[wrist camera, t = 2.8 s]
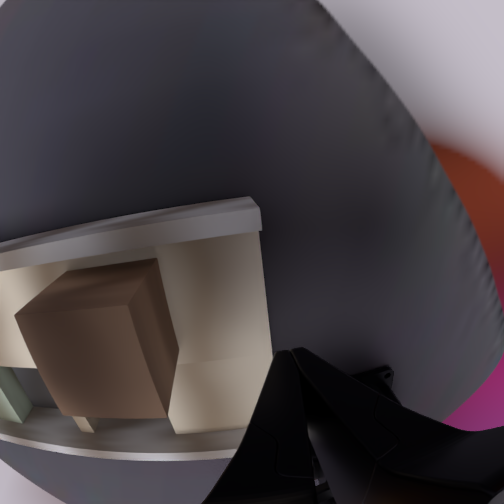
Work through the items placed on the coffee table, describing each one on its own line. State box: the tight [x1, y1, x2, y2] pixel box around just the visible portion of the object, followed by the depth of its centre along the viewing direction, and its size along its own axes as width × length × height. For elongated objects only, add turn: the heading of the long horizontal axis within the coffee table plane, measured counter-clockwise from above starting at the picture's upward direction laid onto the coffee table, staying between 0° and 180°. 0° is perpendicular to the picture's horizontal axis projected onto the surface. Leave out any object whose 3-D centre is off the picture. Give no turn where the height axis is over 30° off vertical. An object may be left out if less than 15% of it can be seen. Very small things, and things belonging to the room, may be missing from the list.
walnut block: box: [14, 258, 180, 419], centre depth 11 cm, size 4×4×4 cm
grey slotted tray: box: [0, 196, 273, 461], centre depth 14 cm, size 22×13×4 cm, turn 96°
